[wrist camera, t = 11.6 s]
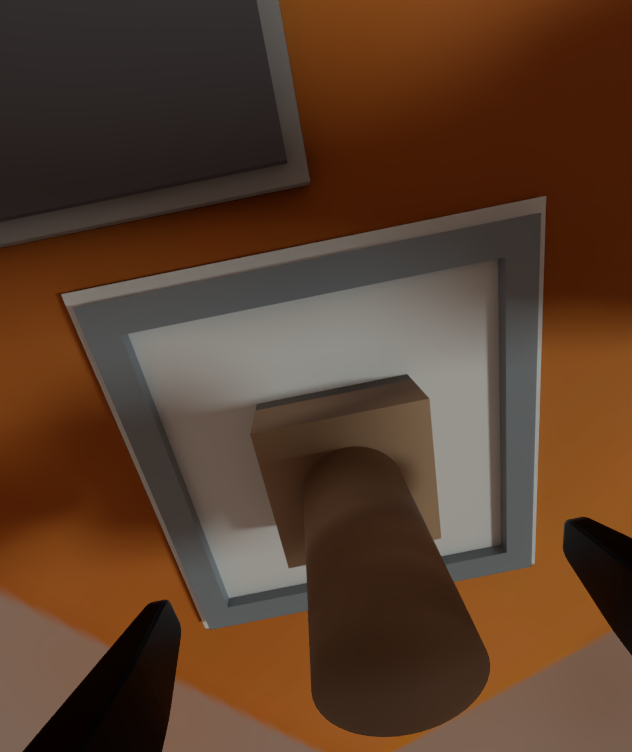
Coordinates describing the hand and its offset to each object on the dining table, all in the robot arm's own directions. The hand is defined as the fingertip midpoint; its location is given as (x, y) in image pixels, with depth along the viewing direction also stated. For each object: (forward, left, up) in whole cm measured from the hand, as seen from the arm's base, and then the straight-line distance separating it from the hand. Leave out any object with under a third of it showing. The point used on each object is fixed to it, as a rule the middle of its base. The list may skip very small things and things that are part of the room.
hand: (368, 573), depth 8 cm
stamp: (0, 0, -5) cm, 5 cm away
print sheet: (0, 0, -5) cm, 5 cm away
